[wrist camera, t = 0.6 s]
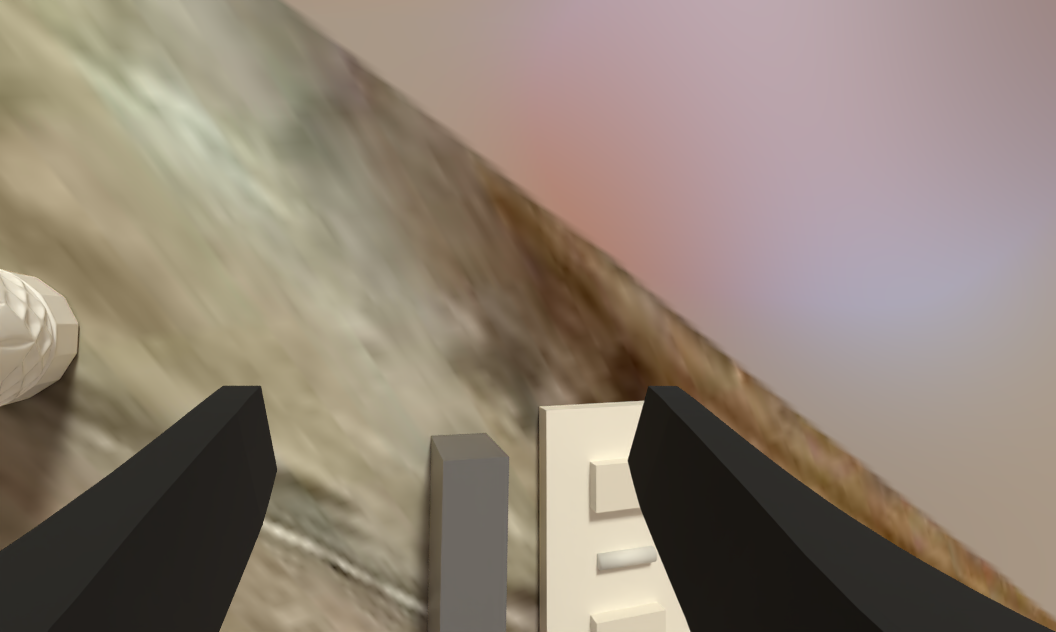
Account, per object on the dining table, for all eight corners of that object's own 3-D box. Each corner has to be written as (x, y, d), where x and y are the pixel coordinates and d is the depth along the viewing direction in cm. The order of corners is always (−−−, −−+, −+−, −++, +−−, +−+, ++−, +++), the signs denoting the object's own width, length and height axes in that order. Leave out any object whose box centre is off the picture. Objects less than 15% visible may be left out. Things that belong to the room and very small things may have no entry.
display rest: (683, 673, 36) (704, 698, 34) (539, 708, 33) (552, 738, 31) (681, 398, 36) (703, 404, 34) (539, 406, 33) (551, 413, 31)
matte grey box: (481, 665, 32) (503, 740, 26) (426, 675, 31) (437, 755, 25) (485, 432, 32) (509, 456, 27) (430, 435, 31) (443, 460, 26)
